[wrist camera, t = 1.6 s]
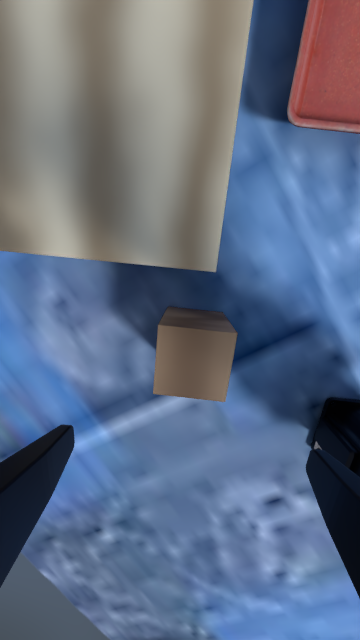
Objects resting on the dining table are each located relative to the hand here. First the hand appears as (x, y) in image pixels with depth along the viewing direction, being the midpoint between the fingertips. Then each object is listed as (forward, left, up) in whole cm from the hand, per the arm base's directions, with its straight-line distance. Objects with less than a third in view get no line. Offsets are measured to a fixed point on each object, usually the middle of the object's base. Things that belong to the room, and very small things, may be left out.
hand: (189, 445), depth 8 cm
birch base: (+7, -14, -12) cm, 20 cm away
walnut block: (0, 0, -12) cm, 12 cm away
